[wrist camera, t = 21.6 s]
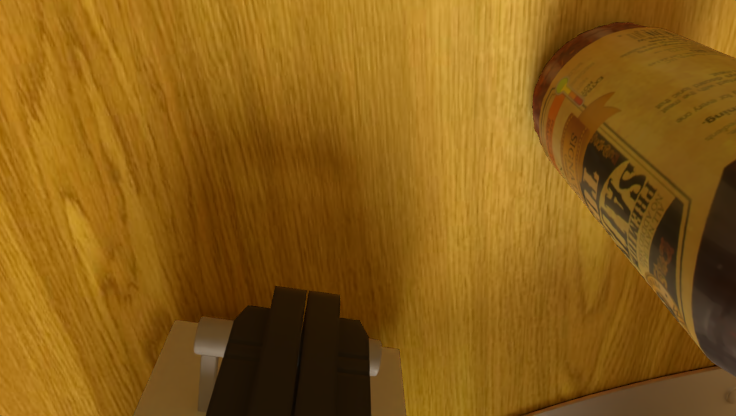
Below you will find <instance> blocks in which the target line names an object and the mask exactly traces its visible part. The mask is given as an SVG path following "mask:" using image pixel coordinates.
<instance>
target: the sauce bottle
mask: <svg viewBox="0 0 736 416" xmlns="http://www.w3.org/2000/svg"><path fill="white" fill-rule="evenodd" d="M532 108H533V120H534V129H535V131H536V132H537V134H538V136H539V139H540V143H541V145H542V147H543V149H544V151H545V153H546V155H547V157H548V158H549V160H550V161H551V163H552V164H553V165H554V167H555V168H556V169H557V170H558V171H559V173H560V174H561V175H562V176H563V177H564V179H565V180H566V181H567V183H568V184H569V185H570V186H571V188H572V189H573V190H574V191H575V193H576V194H577V195H578V196H579V198H580V199H581V200H582V201H583V203H584V204H585V205H586V206H587V208H588V209H589V210H590V212H591V213H592V214H593V215H594V217H595V218H596V219H597V220H598V222H599V223H600V224H601V225H602V226H603V228H604V229H605V230H606V232H607V233H608V234H609V235H610V237H611V238H612V239H613V241H614V242H615V243H616V245H617V246H618V247H619V248H620V249H621V251H622V252H623V253H624V254H625V255H626V257H627V258H628V259H629V260H630V262H631V264H632V265H633V266H634V267H635V268H636V269H637V270H638V272H639V273H640V274H641V275H642V277H643V278H644V279H645V280H646V282H647V283H648V284H649V285H650V287H651V288H652V289H653V290H654V292H655V293H656V294H657V295H658V297H659V298H660V299H661V300H662V302H663V303H664V304H665V306H666V307H667V308H668V310H669V311H670V312H671V313H672V315H673V316H674V317H675V318H676V320H677V321H678V322H679V323H680V324H681V326H682V327H683V328H684V329H685V330H686V332H687V333H688V334H689V335H690V337H691V338H692V339H693V340H694V342H695V343H696V344H697V345H698V347H699V348H700V349H701V350H702V352H703V353H704V354H705V355H706V356H707V357H708V358H709V359H710V360H711V362H713V363H714V364H716V365H717V366H719V367H720V368H722V369H724V370H725V371H727V372H728V373H730V374H732V375H733V376H735V377H736V59H735V58H733V57H730V56H728V55H726V54H723V53H721V52H718V51H716V50H714V49H711V48H709V47H707V46H704V45H702V44H700V43H697V42H695V41H692V40H690V39H687V38H685V37H682V36H680V35H678V34H675V33H672V32H670V31H667V30H665V29H662V28H655V27H644V26H639V25H637V24H634V23H629V22H627V23H620V22H615V23H612V24H609V25H604V26H599V27H597V28H594V29H592V30H589V31H586V32H584V33H582V34H579V35H578V36H577V37H576V38H574V39H573V40H571V41H569V42H567V43H566V44H565V45H564V46H563V47H562V48H561V49H560V50H558V51H557V52H556V53H555V54H554V56H553V57H552V58H551V60H550V61H549V62H548V63H547V64H546V66H545V67H544V69H543V71H542V74H541V75H540V77H539V80H538V82H537V84H536V86H535V90H534V95H533V106H532Z"/></svg>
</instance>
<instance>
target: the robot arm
mask: <svg viewBox="0 0 736 416" xmlns="http://www.w3.org/2000/svg"><path fill="white" fill-rule="evenodd" d="M306 292H307V290H300V289H293V288H286V287H279V286H275V290H274V295H273V299H272V304H271V308H264V307H256V306H249V305H248V306H247V307H246V308H245V309H244V310H243V311H242V312H241V313H240V314H239V315H238V317H237V318H236V319H235V320H234V322H233V325H232V329H231V332H230V335H229V339H228V343H227V345H226V349H225V352H224V356H223V359H222V362H221V365H220V369H219V372H218V376H217V379H216V382H215V386H214V389H213V392H212V396H211V399H210V402H209V406H208V409H207V413H206V416H371V388H370V361H369V357H370V356H369V337H368V335H367V333H366V332H365V330H364V328H363V326H362V324H361V322H360V320H352V319H345V318H340V295H336V294H329V293H322V292H315V291H309V294H308V299H307V305H306V310H305V316H304V321H303V315H304V307H305V300H306ZM302 323H303V327H302ZM301 331H302V333H301Z"/></svg>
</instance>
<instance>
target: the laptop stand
mask: <svg viewBox="0 0 736 416" xmlns="http://www.w3.org/2000/svg"><path fill="white" fill-rule="evenodd" d="M523 416H736V377H735V376H733V375H732V374H730V373H728V372H727V371H725V370H724V369H722V368H720V367H719V366H715V367H710V368H704V369H699V370H694V371H689V372H684V373H679V374H675V375H670V376H665V377H661V378H656V379H652V380H648V381H643V382H639V383H635V384H631V385H627V386H623V387H619V388H615V389H611V390H607V391H604V392H600V393H596V394H592V395H589V396H585V397H582V398H578V399H575V400H571V401H568V402H564V403H561V404H558V405H555V406H551V407H548V408H545V409H542V410H539V411H535V412H532V413H529V414H526V415H523Z"/></svg>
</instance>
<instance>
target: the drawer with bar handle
mask: <svg viewBox="0 0 736 416" xmlns="http://www.w3.org/2000/svg"><path fill="white" fill-rule="evenodd" d="M233 322H234V320H226V319H219V318H211V317H202V318H201V319H200V321H199V323H196V322H189V321H181V320H175V321H174V323H173V326H172V328H171V330H170V332H169V335H168V337H167V339H166V342H165V344H164V346H163V348H162V351H161V353H160V355H159V358H158V360H157V362H156V364H155V367H154V369H153V371H152V374H151V376H150V378H149V380H148V383H147V385H146V387H145V390H144V392H143V394H142V397H141V399H140V401H139V403H138V406H137V408H136V410H135V413H134V415H133V416H206V413H207V409H208V406H209V402H210V399H211V396H212V392H213V389H214V386H215V382H216V379H217V376H218V372H219V369H220V365H221V362H222V359H223V356H224V352H225V349H226V345H227V343H228V339H229V335H230V332H231V329H232V325H233ZM301 333H302V331H301ZM369 356H370V357H369V361H370V388H371V416H406V409H405V399H404V390H403V380H402V371H401V362H400V352H399V349H394V348H386V347H382V345H381V341H380V340H376V339H369Z"/></svg>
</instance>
